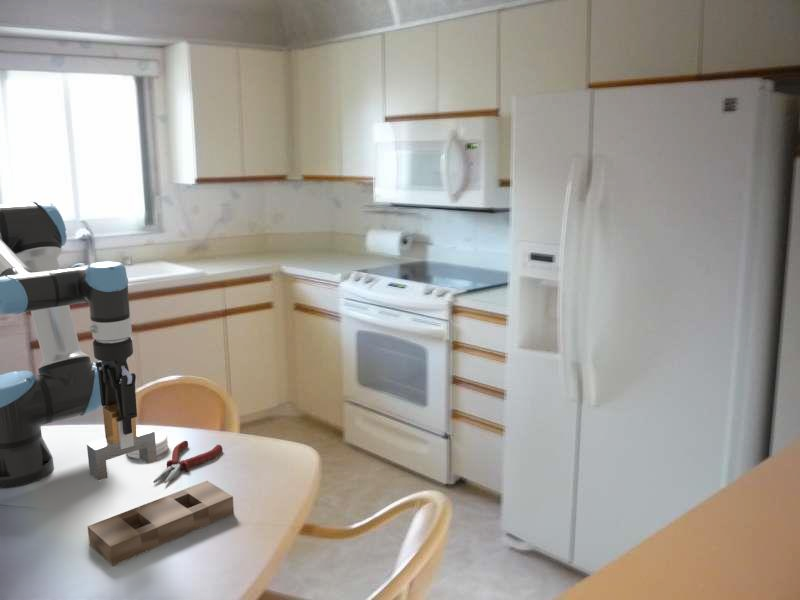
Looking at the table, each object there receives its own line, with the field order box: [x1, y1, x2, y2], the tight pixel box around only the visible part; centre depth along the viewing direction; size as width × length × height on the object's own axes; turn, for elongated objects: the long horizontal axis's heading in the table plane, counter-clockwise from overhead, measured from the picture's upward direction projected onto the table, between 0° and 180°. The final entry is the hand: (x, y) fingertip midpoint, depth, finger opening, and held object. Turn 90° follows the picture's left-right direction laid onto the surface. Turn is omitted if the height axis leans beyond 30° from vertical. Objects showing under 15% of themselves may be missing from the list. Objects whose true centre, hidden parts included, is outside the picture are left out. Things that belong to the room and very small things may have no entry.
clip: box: [86, 403, 158, 482], centre depth 154 cm, size 4×13×14 cm, turn 135°
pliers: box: [153, 440, 223, 484], centre depth 173 cm, size 12×20×3 cm, turn 166°
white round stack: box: [126, 430, 169, 460], centre depth 182 cm, size 10×10×4 cm
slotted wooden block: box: [87, 480, 235, 567], centre depth 146 cm, size 10×26×4 cm, turn 135°
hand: (121, 443), depth 154 cm, fingers closed on clip, 4 cm apart
